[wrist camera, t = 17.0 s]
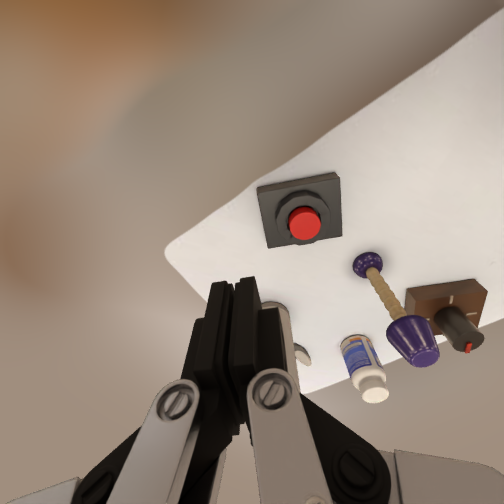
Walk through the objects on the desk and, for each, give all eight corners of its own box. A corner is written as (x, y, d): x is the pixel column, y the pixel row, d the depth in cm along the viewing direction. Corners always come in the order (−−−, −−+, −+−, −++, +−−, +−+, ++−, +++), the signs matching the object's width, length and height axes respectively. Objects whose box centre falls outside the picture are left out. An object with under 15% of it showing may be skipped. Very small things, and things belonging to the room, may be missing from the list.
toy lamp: (390, 259, 42) (460, 352, 28) (370, 282, 44) (426, 379, 30) (364, 247, 41) (422, 336, 27) (345, 271, 43) (389, 365, 29)
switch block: (335, 172, 36) (344, 182, 32) (338, 229, 40) (346, 243, 36) (256, 187, 37) (257, 198, 33) (267, 241, 41) (268, 255, 37)
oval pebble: (285, 344, 52) (285, 349, 51) (296, 338, 51) (296, 343, 50) (303, 364, 54) (304, 369, 53) (314, 359, 53) (315, 364, 52)
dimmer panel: (474, 278, 44) (489, 291, 41) (465, 317, 48) (477, 331, 45) (406, 287, 45) (416, 301, 42) (402, 325, 49) (411, 339, 46)
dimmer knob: (435, 308, 43) (456, 335, 38) (463, 304, 42) (488, 331, 38) (432, 327, 45) (452, 355, 40) (459, 323, 44) (482, 351, 40)
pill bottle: (335, 352, 52) (351, 403, 44) (347, 332, 50) (365, 382, 41) (363, 357, 53) (383, 408, 45) (376, 337, 50) (400, 387, 42)
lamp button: (316, 204, 34) (319, 209, 32) (318, 230, 36) (321, 237, 34) (286, 209, 34) (287, 215, 33) (290, 235, 36) (291, 242, 35)
